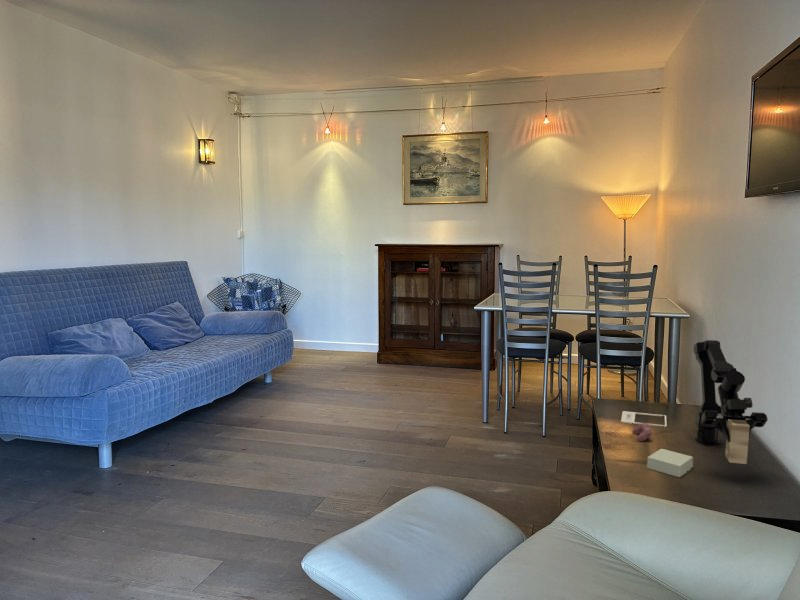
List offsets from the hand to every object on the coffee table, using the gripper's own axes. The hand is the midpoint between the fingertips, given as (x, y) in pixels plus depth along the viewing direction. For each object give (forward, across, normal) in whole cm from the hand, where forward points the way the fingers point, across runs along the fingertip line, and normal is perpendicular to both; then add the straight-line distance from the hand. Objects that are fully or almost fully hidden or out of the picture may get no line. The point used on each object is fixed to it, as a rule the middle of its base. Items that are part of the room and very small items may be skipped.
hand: (738, 442), depth 187 cm
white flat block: (+4, -19, +14) cm, 24 cm away
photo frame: (-32, -19, +52) cm, 64 cm away
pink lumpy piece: (-16, -24, +35) cm, 45 cm away
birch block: (+4, 0, +6) cm, 7 cm away
